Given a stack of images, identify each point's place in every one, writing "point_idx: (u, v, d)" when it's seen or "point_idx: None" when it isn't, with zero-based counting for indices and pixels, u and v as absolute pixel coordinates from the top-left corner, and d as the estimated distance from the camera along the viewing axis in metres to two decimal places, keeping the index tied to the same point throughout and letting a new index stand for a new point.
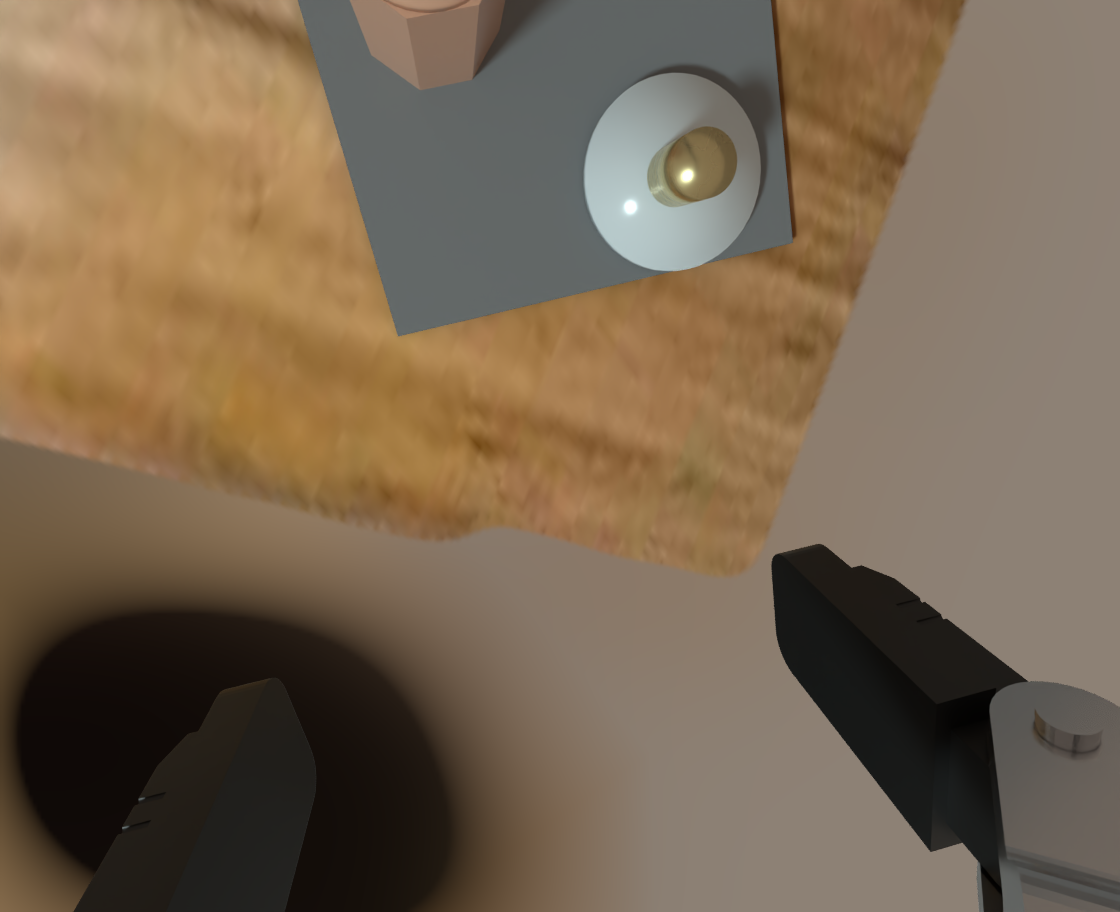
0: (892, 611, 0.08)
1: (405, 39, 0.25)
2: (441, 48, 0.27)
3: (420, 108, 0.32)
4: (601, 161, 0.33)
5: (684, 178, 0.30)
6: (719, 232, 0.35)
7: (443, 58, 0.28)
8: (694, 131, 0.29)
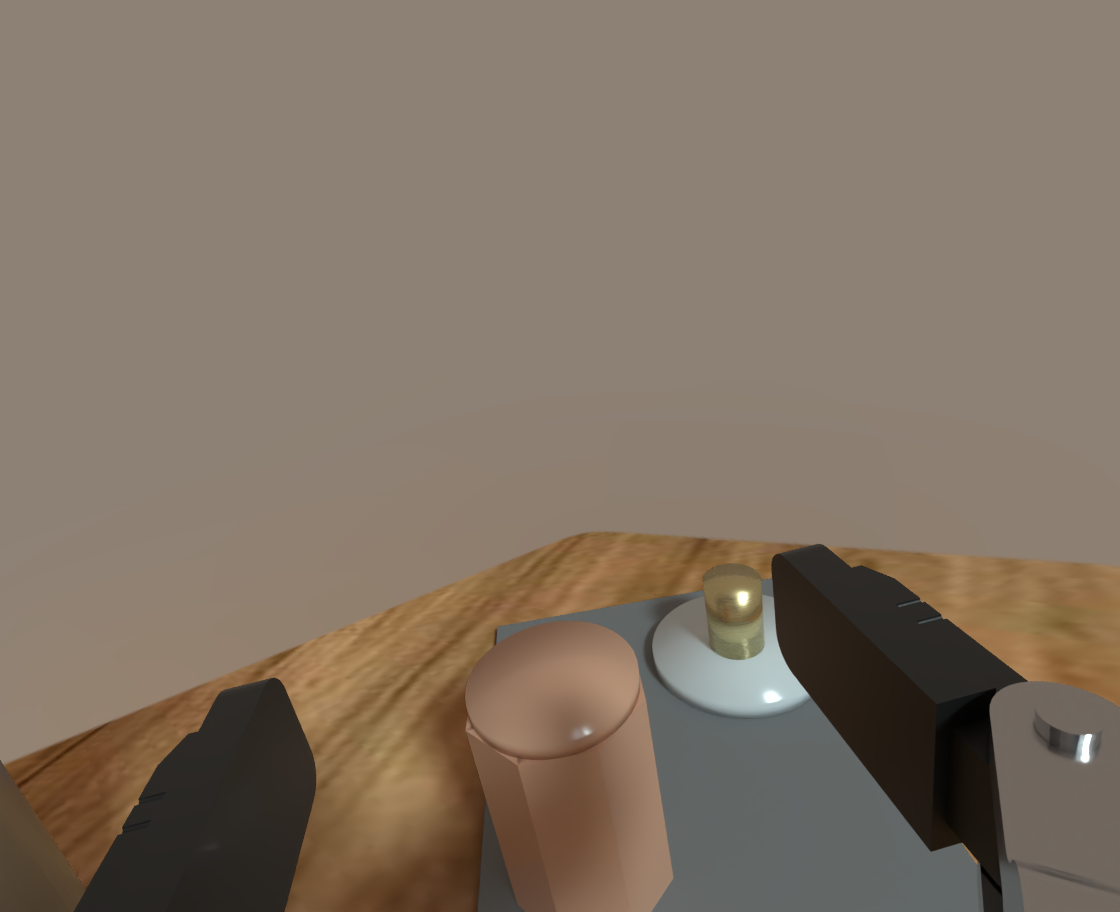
0: (892, 611, 0.08)
1: (650, 758, 0.23)
2: None
3: (694, 880, 0.26)
4: (732, 693, 0.33)
5: (746, 589, 0.34)
6: None
7: None
8: (707, 587, 0.35)
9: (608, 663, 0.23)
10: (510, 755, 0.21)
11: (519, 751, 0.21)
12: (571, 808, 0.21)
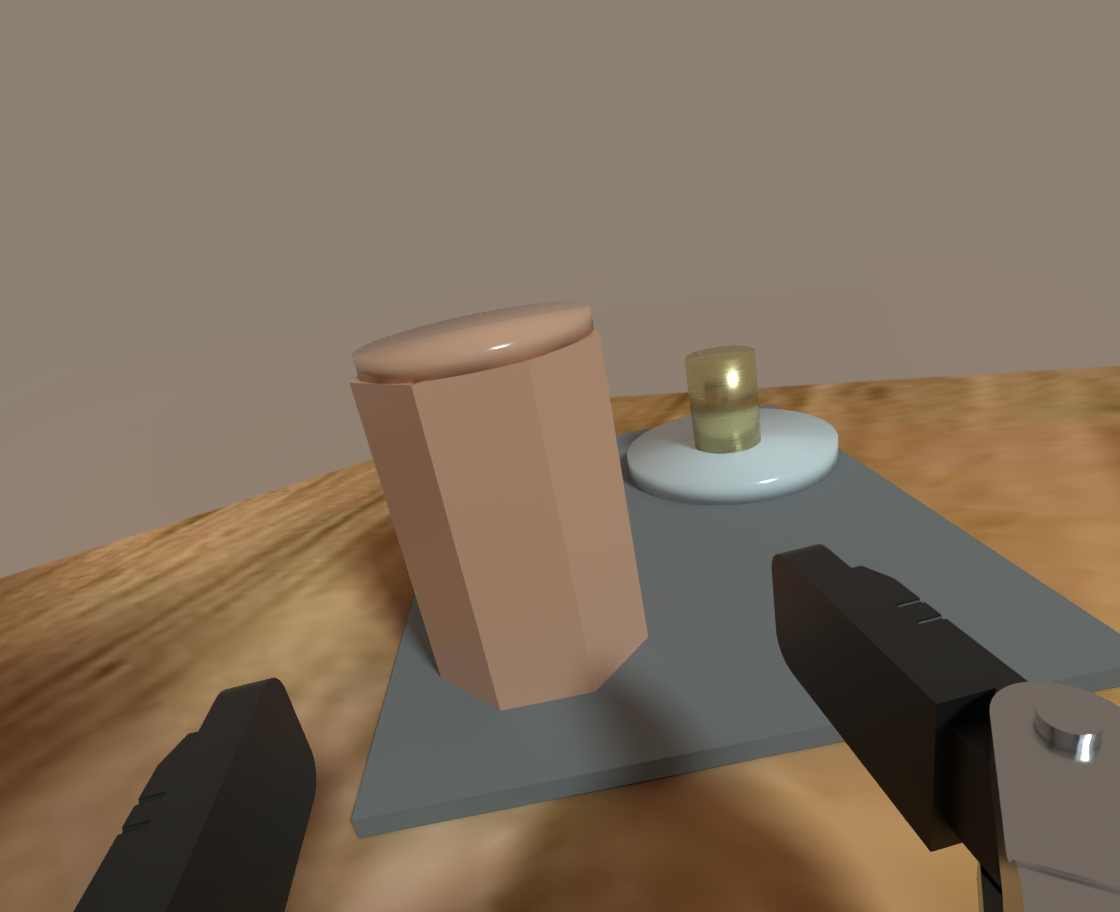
0: (892, 611, 0.08)
1: (609, 431, 0.17)
2: None
3: (675, 636, 0.19)
4: (722, 476, 0.27)
5: (737, 357, 0.28)
6: (778, 416, 0.33)
7: None
8: (690, 362, 0.29)
9: (550, 311, 0.17)
10: (403, 382, 0.15)
11: (414, 368, 0.14)
12: (494, 466, 0.15)
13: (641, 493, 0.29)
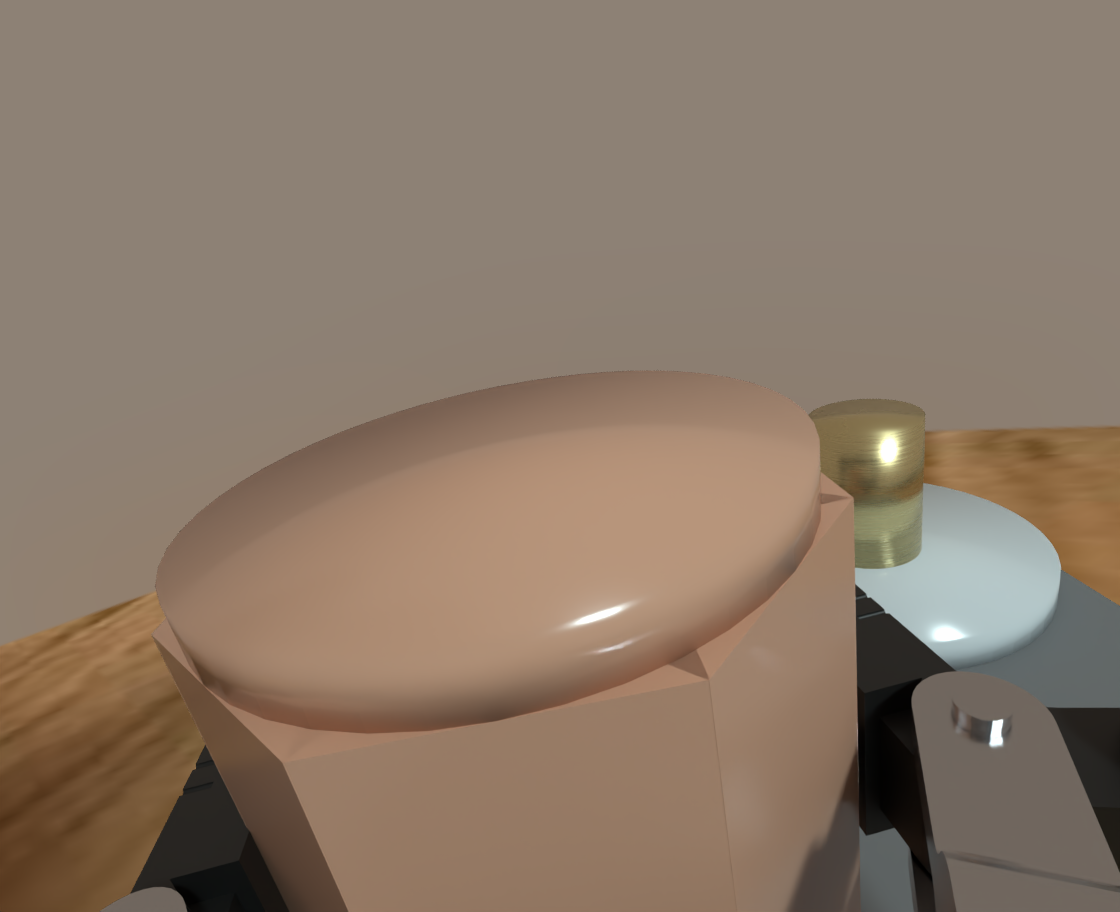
0: None
1: (850, 735, 0.06)
2: None
3: None
4: None
5: (901, 424, 0.18)
6: (927, 496, 0.22)
7: None
8: (821, 429, 0.18)
9: (688, 414, 0.07)
10: (269, 717, 0.04)
11: (297, 690, 0.04)
12: None
13: None
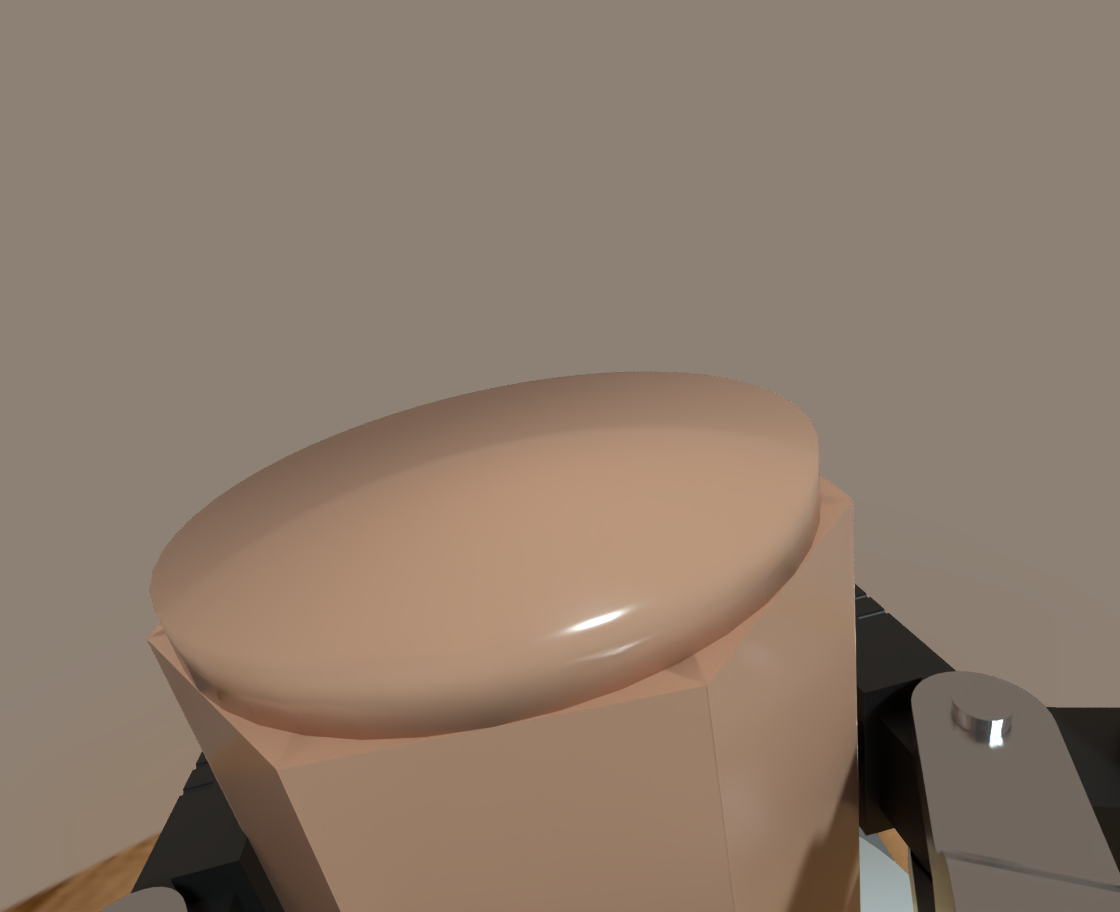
0: None
1: (849, 738, 0.06)
2: None
3: None
4: None
5: None
6: None
7: None
8: None
9: (687, 416, 0.07)
10: (262, 723, 0.04)
11: (292, 696, 0.04)
12: None
13: None
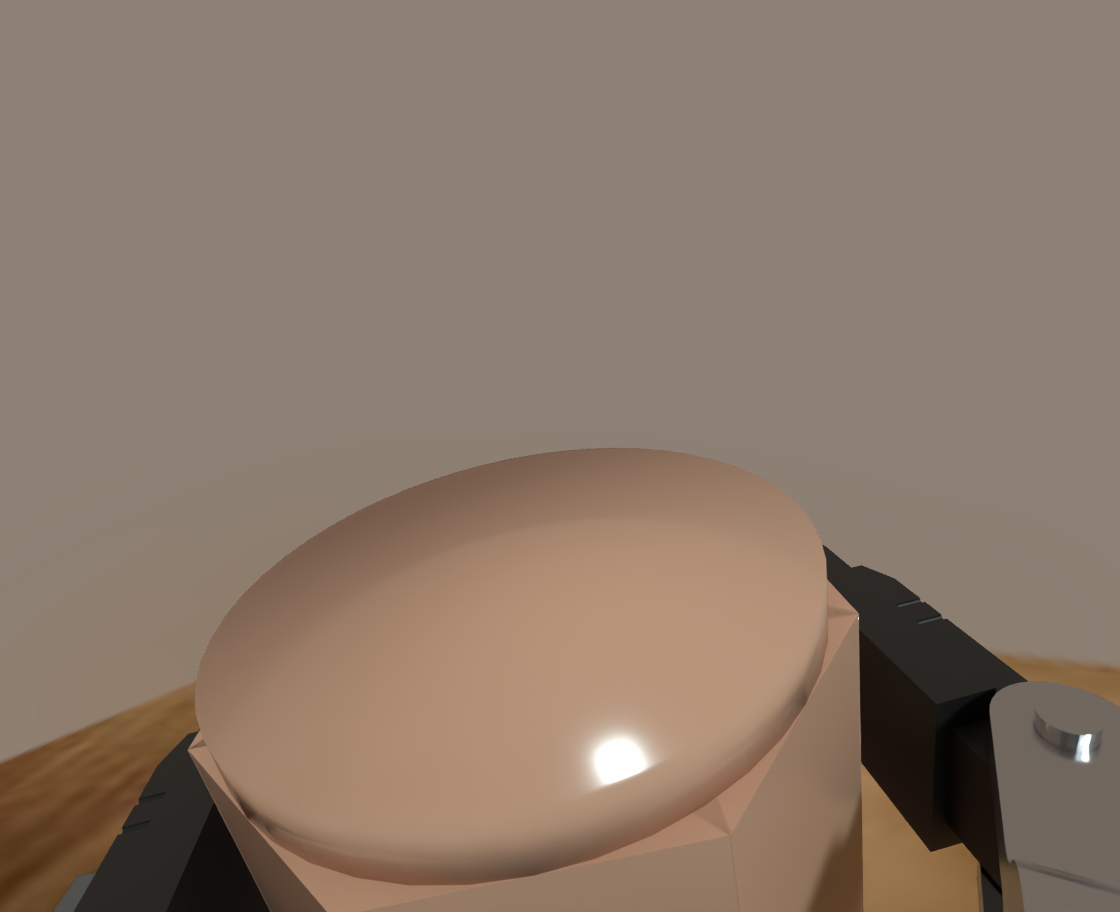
0: (892, 611, 0.08)
1: (855, 827, 0.07)
2: None
3: None
4: None
5: None
6: None
7: None
8: None
9: (698, 515, 0.07)
10: (314, 863, 0.05)
11: (344, 845, 0.04)
12: None
13: None
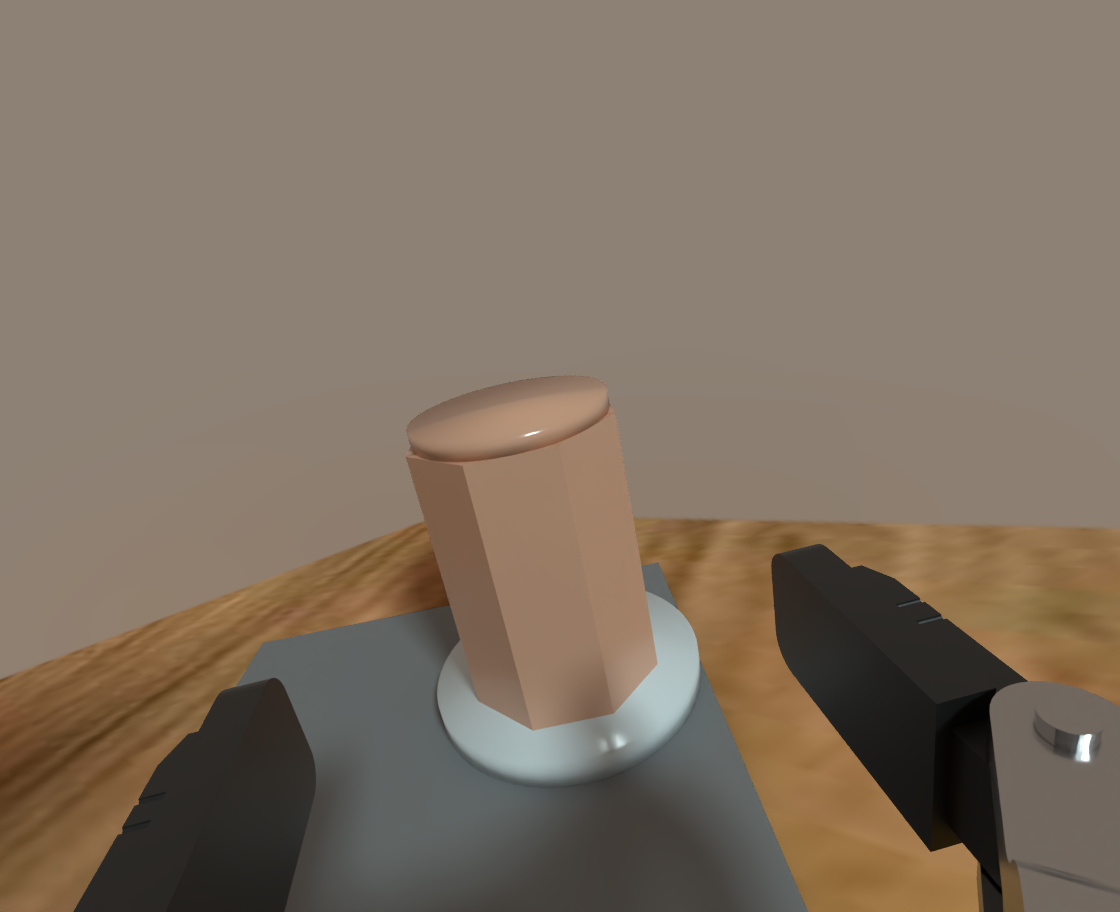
0: (892, 611, 0.08)
1: (624, 493, 0.20)
2: None
3: None
4: (528, 743, 0.20)
5: None
6: None
7: None
8: None
9: (572, 390, 0.20)
10: (455, 461, 0.18)
11: (464, 451, 0.17)
12: (530, 529, 0.18)
13: (442, 739, 0.22)
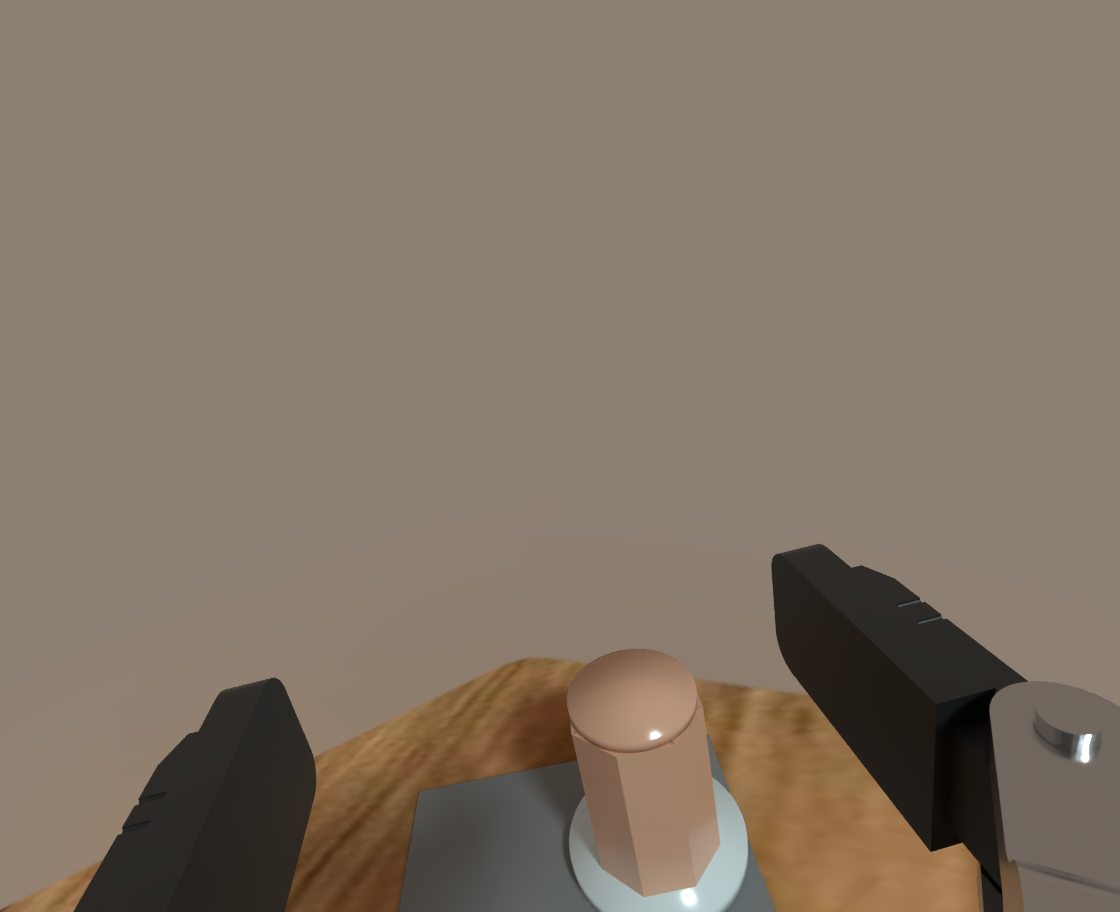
0: (892, 611, 0.08)
1: (705, 751, 0.31)
2: None
3: None
4: (642, 907, 0.31)
5: None
6: None
7: None
8: None
9: (672, 681, 0.32)
10: (609, 750, 0.29)
11: (617, 747, 0.29)
12: (653, 788, 0.29)
13: (578, 893, 0.34)
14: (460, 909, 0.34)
